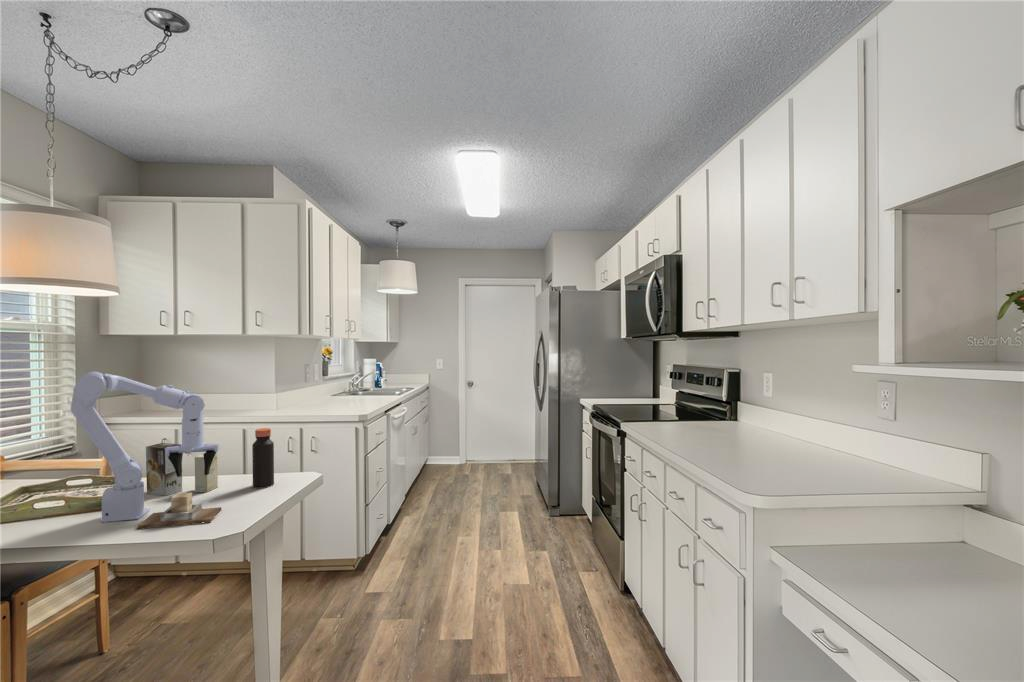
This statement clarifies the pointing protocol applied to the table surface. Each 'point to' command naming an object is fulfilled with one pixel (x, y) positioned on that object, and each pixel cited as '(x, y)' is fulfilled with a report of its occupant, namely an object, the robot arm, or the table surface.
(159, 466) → the coffee box
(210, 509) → the socket stand
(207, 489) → the skincare box
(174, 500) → the peg
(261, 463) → the bottle
